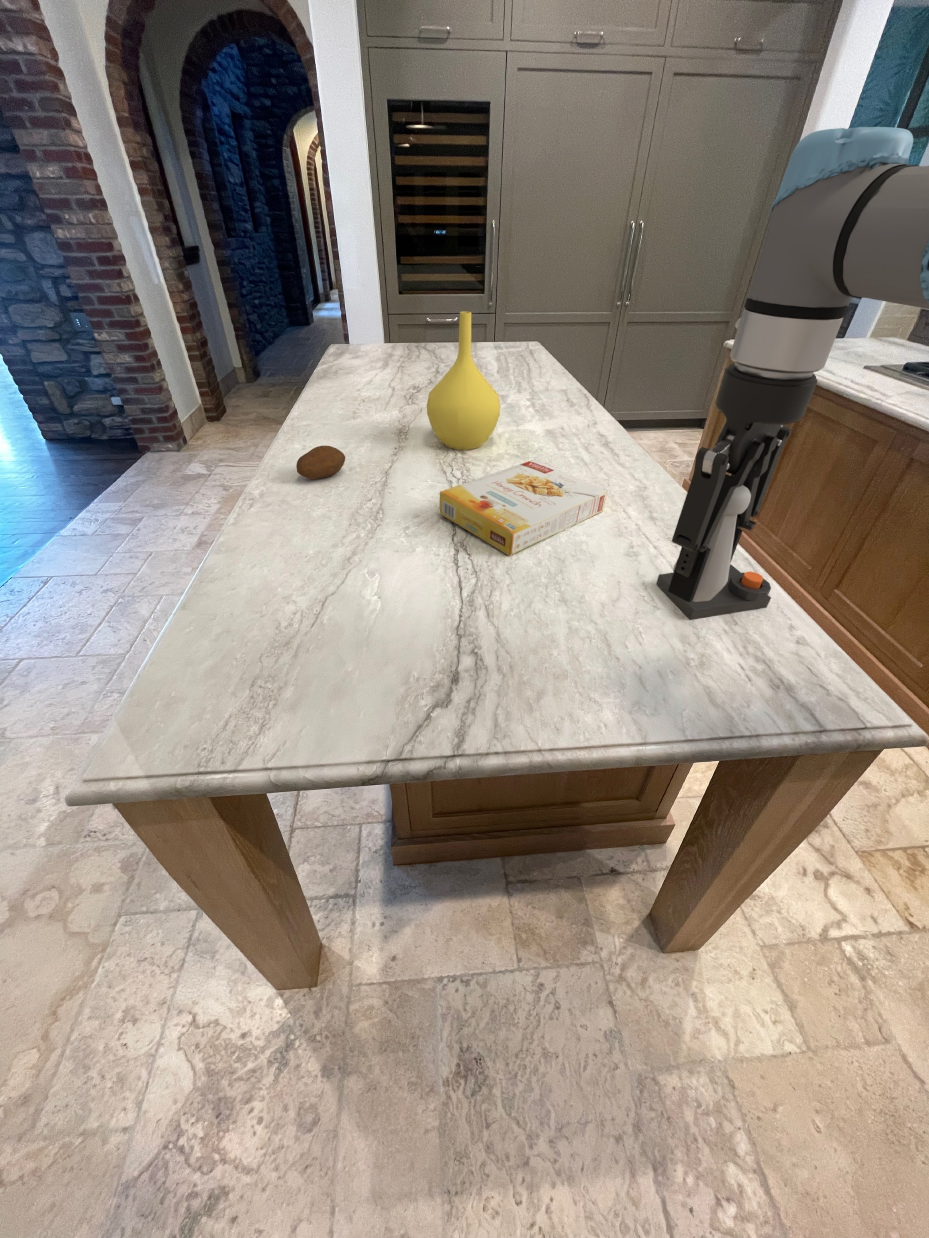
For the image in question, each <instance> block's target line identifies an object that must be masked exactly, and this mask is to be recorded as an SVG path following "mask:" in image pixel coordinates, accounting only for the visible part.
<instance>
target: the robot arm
mask: <svg viewBox="0 0 929 1238" xmlns="http://www.w3.org/2000/svg"><path fill="white" fill-rule="evenodd" d="M913 145H914V135H913V133H912V132H911V131H910V130H908V129H906V128H902V127H891V126H890V127H889V126H858V127H849V128H846V127H837V128H836V127H835V128H827V129H820V130H815V131H812V132H810V133H808V134H807V135H806V136H804V137H803V138H802V139H800V140H799V142H798V143H797V144H796V146H795V147H794V149H793V151H792V153H791V155H790V158H789V161H788V164H787V166H786V169H785V172H784V175H783V177H782V180H781V182H780V186H779V188H778V191H777V194H776V197H775V200H774V201H773V202H772V204H771V207H770V216H769V219H768V223H767V226H766V230H765V235H764V239H763V242H762V245H761V249H760V253H759V257H758V259H757V262H756V266H755V271H754V274H753V277H752V280H751V284H750V288H749V291H748V295H747V298H746V300H745V303H744V306H743V307H744V308H743V311H742V314H741V317H739V318H737V320H736V322H735V326H734V327H735V329H736V330H737V331H736V334H735V337H734V340H733V344H732V347H731V349H730V350H731V351H730V354H729V358H730V360H731V361H732V362H733V363H731V364H729V365H728V366H727V367H726V368H725V369H724V371H723V375H722V378H721V381H720V384H719V388H718V391H717V395H716V398H715V404H714V405H715V408H716V409H717V410H718V412H719V413H722V415H724V417H725V420H726V421H725V423H724V425H723V427H722V429H721V431H720V433H719V435H718V437H717V440H716V442H715V444H714V447H712V448H711V449H710V448H707V447H703V446H702V447H700V448H699V449H698V451H697V452H696V455H695V462H694V470H693V473H692V477H691V480H690V484H689V486H688V489H687V493H686V495H685V499H684V502H683V505H682V508H681V510H680V514H679V516H678V520H677V523H676V525H675V529H674V532H673V535H672V538H671V542H672V543H673V544H675V545H677V546H679V547H681V548H680V551H679V555H678V558H677V559H678V561H677V560H676V561H677V564H676V567H675V570H674V573H673V572H672V573H673V576H672V580H671V583H670V586H669V589H668V592H670V593H672V594H674V595H675V596H677V597H679V598H681V599H683V600H685V601H687V602H691V601H692V600H693V598H694V596H695V593H696V590H697V587H698V584H699V582H700V579H701V576H702V573H703V570H704V567H705V565H706V562H707V559H708V556H709V553H710V550H711V549H710V548H707V546H708V544H709V542H710V540H711V538H712V536H713V534H714V532H715V529H716V527H717V525H718V523H719V521H720V519H721V517H722V515H723V513H724V511H725V509H726V507H727V505H728V503H729V500H730V498H731V496H732V494H733V492H734V490H735V488H737V487H740V486H742V485H744V486H745V487H747V488H748V490H749V491H750V494H751V499H750V503H749V505H748V507H747V509H746V510H745V511H744V512H743V513H741V514H737V519H736V526H735V533H734V540H733V547H732V554H731V561H730V564H731V562H732V560H733V557H734V555H735V553H736V549H737V547H738V544H739V542H740V539H741V537H742V533H743V531H744V530H743V529H745V530H748V531H752V530H753V529H754V528H755V526H756V524H757V522H756V521H753V520H751V518H752V519H755V518H756V517H757V516H758V515H759V513H760V510H761V508H762V505H763V503H764V500H765V496H766V494H767V491H768V489H769V486H770V483H771V481H772V478H773V475H774V473H775V470H776V467H777V465H778V462H779V459H780V457H781V454H782V452H783V450H784V447H785V445H786V443H787V442H788V440H789V438H790V436H791V435H792V434H791V433H792V429H793V428H792V427H791V426H787V425H790V424H794V423H797V422H798V421H800V420H802V418H803V417H804V416H805V414H806V411H807V410H808V409H807V408H808V406H809V404H810V401H811V399H812V396H813V394H814V391H815V389H816V386H817V384H818V379H817V376H816V374H815V373H816V372H819V371H821V370H822V369H824V368H825V366H826V363H827V361H828V358H829V356H830V353H831V351H832V348H833V346H834V343H835V341H836V338H837V335H838V333H839V330H840V329H841V325H842V323H843V320H844V318H845V314H846V311H847V309H848V306H849V305H850V303H851V301H852V298H858V299H862V298H863V299H868V300H869V299H870V300H876V301H879V302H885V303H892V304H898V305H904V306H909V307H914V308H919V309H925V310H929V165H919V164H911V163H910V164H909V161H910V158H909V157H910V155H911V151H912V148H913ZM727 473H728V474H727ZM729 474H730V475H729ZM742 528H743V529H742Z"/></svg>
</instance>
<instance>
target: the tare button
mask: <svg viewBox="0 0 929 1238" xmlns="http://www.w3.org/2000/svg"><path fill="white" fill-rule="evenodd" d="M743 573H744V575H743V578H742V580H741V584H743V585H744V586H746V587H748V588H753V589H758V588H760V586H761V583H762V581H763V578H764V577H763V575H761V574H760V573H758V572H755V571H745V572H743Z"/></svg>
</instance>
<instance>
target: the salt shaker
mask: <svg viewBox="0 0 929 1238" xmlns="http://www.w3.org/2000/svg"><path fill="white" fill-rule="evenodd" d="M750 499H751V494H750V491H749V490H748V488H747V487H745V486H744V485H742V486H740V487H737V488H735V490H734V492H733V494H732V496H731V498H730V500H729V503H728V505H727V507H726V509H725V511H724V513H723V515H722V517H721V519H720V521H719V523H718V525H717V527H716V529H715V532H714V534H713V536H712V538H711V540H710V542H709V544H708V546H707V548H710V549H711V550H710V553H709V556H708V559H707V562H706V565H705V567H704V570H703V573H702V576H701V579H700V582H699V584H698V587H697V590H696V593H695V596H694V598H693V600H692V601H694V602H700V601H710V600H711V599H712V598H713V597H714V596H715V595H716V594H717V593H718V592H719V591H720V590H721V589H722V588H723V587H724V586H725V585H726V583H727V581H728V576H729V569H730V564H731V563H730V561H731V562H732V560H731V554H732V547H733V540H734V533H735V526H736V519H737V514H741V513H743V512H744V511H745V510H746V509H747V507H748V505H749V503H750ZM676 559H677V560H676V561H675V562H674V565H673V569H672V573H674V570H675V567H676V564H677V561H678V558H676Z"/></svg>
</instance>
